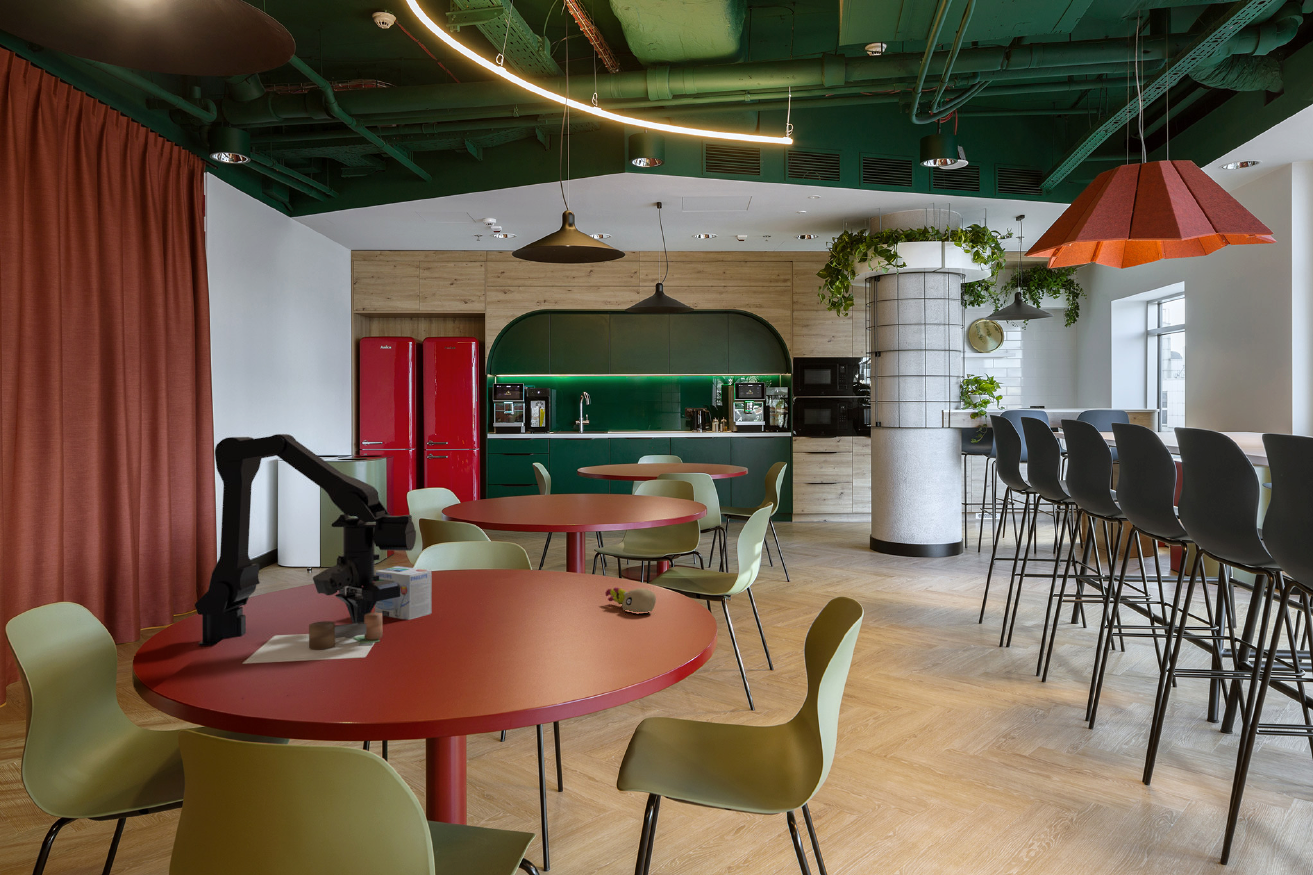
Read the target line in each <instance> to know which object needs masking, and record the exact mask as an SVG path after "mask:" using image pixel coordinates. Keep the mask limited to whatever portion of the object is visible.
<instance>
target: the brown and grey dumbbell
mask: <svg viewBox="0 0 1313 875" xmlns="http://www.w3.org/2000/svg"><path fill="white" fill-rule="evenodd" d="M308 634H309V648H310V649H326V648H330V647H333V646H335V638H342V637H350V636H357V635H364V638H365V639H378V638H379V639H381V638H383V616H382V613H375V612H371V613H368V614H365V615H364V622H360V623H345V624H337V625H336V622H334V621H330V620H329V621H328V620H326V621H325V620H323V621H317V622H312V623H310V624H309V625H308Z"/></svg>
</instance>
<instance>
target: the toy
mask: <svg viewBox="0 0 1313 875" xmlns="http://www.w3.org/2000/svg"><path fill="white" fill-rule="evenodd" d="M605 596H606V597H608V598H607V600H608V602H613V601H614V602H616V603H617V604H618V605H620V604H622V606H621V607H622V610H623V611H624V610H629V611H633V612H648V611H651V612H652V611H653V610H654V608H655V605H656V603H657V602H656V601H657V596H656V594H655V593H654V591H653V590H651V589H648V588H635V589H631V590H629V591H628V592H627V591H626V590H624V589H622V588H619V587H613V588H608V589H607V590H606V592H605Z"/></svg>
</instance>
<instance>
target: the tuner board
mask: <svg viewBox="0 0 1313 875" xmlns="http://www.w3.org/2000/svg"><path fill="white" fill-rule="evenodd" d="M380 641H381V640H380V638H378V639H365V638H364V635H357V636H350V637H342V638H335V646H333V647H330V648H326V649H310V648H309V633H305V634H303V633H300V634H281V635H279V634H277V635H273V636H272V638H270V639H269V640H268V641H267V642H265V643H264V644H263V645H262V646H260V647H259V648H258V649H257V650H256V651H255V652H254V653H253V654H251V655H250V656H249V657H248V658H247V659H246V660H244V661H243V662H242V664H260V663H261V664H262V663H278V662H279V663H280V662H283V663H284V662H297V661H298V662H299V661H317V660H318V661H321V660H322V661H323V660H339V659H341V660H342V659H361V658H363V659H364V658H366V657H367V655H368V654H369V652H370V651H371V649H372V647H373V646H374V644H376V643H379V642H380Z"/></svg>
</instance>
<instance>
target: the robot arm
mask: <svg viewBox="0 0 1313 875" xmlns="http://www.w3.org/2000/svg"><path fill="white" fill-rule="evenodd" d="M214 448H215V450H214V458H215V466H216V467H215V468H216V469H217V472H218V475H219V476H220V478H221V480H222V483H223V484H222V485H223V487H222V488H223V491H222V492H223V493H222V509H221V510H222V511H221V513H222V514H221V532H220V549H219V550H220V552H219V553H220V554H219V557H218V560H217V562H216V564H215V566H214V568H213V570H212V572H211V576H210V579H209V584H208V590H207V591H206V592H205V593H204V595H202V597H200V598H199V599H198V600H197V601H196V602H195V603H194V607H195V610H196V613H197V615H202V620H201V621H202V627H201V628H202V630H201V631H202V640H201V641H199V642H198V646H200V647H201V646H202V647H203V646H216V645H217V644H219V643H220V642H222V641H223V640H225V639H231V638H232V639H233V638H238V637H242V636H244V635H246V633H247V630H246V629H247V627H246V626H247V624H246V623H247V622H246V621H247V620H246V619H247V618H246V617H247V616H246V614H244V611H243V610H244V608H243V606H246V605H247V603H248V601H249V598H250V597H251V595H252V594H254V593H255V591H256V589H257V585H259V584H261V582H260V579H259V571H260V564H259V563H253V562H252V560H251V558H250V556H249V549H250V548H249V546H250V545H249V544H250V526H251V525H250V524H251V523H250V521H251V505H252V504H251V503H252V485H253V481H254V479H255V477H256V476H257V473H258V472H259V471H260V468H261V462H262V459H267V458H270V457H276V456H277V457H278V458H279V459H281V460H282V461H283V462H286V464H288V465H289V466H291V467H292V468H293V469H295V470H296V471H298V472H299V473H300V474H302V475H303V476H305V477H306V478H307V479H309V480H310V481H311V482H313V483H314V484H315V485H316V486H319V487H320V488H321V489H323V490H324V491H325V492H326V494H327V495H328V496H329V499H330V500H331V502H332V503H333V505H335V506H336V507H337V508H338V509H339V511H341V512H342V513H343V514H340V515H339V516H338V518H337V519H336V520H335V521H333V522H332V523H331V527H332V528H342V555H337V558H336V565H333V566H330V567H329V568H326V569H325V570H322V571H321V572H319V573H318V574H315V575H314V576H313V577H312V580H313V584H314V586H315V589H316V592H317V593H318V594H324V595H325V596H332V595H334V596H335V597H336V598H337V599H339V600H340V601H342V602H343V603H344V604H345V606H346V608H347V611H348V613H349V616H350V620H351V622H352V623H360V622H364V615H365V614H368V613H372V611H373V609H374V608H375V604H376V602H377V601H382V600H387V599H391V598H396V597H400V596H401V586H400V585H399V584H398V583H397V582H393V581H388V580H384V581H379V575H375V571H376V570H375V569H376V568H375V562H376V561H379V560H380V554H378V553H375V551H376V550H375V549H376V547H378V549H379V550H380V551H403V552H405V551H408V552H409V551H413V549H414V546H415V544H416V539H417V530H416V529H415V524H414V522H413V518H412V517H413V516H412V515H411V514H405V515H391V514H390V513H389V512H388V510H387V509H386V507H385V506H384V505H383V503H382V502H381V501H380V498H379V491H378V490H377V488H375V487H374V486H373V485H371V484H369V483H366V482H364V481H362V480H360V479H358V478H355V477H352V476H349V475H347V474H344V473H343V472H341V471H339V470H338V469H336V468H335V467H334V466H333V465H331V464H330V463H328V462H327V461H326V460H324V459H323V458H321V457H320V456H318V455H317V454H316V453H314V452H313V451H311V449H309V448H307V447H306V446H305V445H304V444H302V443H301V442H299V441H298V440H296V438H295V437H294V436H292V435H290V434H288V433H287V434H285V433H282V434H281V433H277V434H273V435H271V436H263V437H257V438H254V437H251V436H238V437H237V436H231V437H225V438H223V439H222V440H220V441H219V442H218V443H217V444H216V445H215V447H214ZM375 581H378V582H375ZM337 592H338V594H337ZM352 623H351V624H352Z"/></svg>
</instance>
